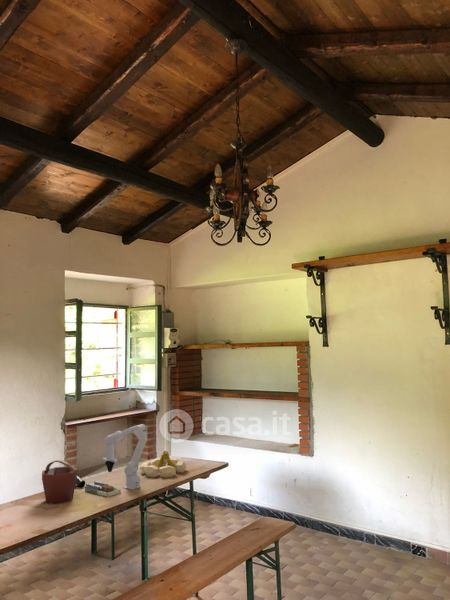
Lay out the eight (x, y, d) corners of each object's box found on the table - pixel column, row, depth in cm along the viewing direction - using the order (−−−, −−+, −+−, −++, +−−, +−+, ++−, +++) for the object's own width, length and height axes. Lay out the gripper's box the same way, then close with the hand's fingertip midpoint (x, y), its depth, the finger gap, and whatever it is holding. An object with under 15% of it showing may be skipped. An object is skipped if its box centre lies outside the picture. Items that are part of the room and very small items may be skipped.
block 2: (110, 491, 318) (113, 492, 315) (105, 493, 314) (109, 494, 312) (110, 485, 318) (113, 486, 316) (105, 487, 315) (109, 488, 312)
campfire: (166, 480, 344) (165, 457, 346) (132, 475, 362) (131, 452, 363) (193, 469, 374) (193, 447, 376) (160, 465, 391) (160, 444, 393)
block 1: (109, 491, 317) (109, 485, 318) (105, 493, 314) (104, 487, 315) (106, 490, 320) (106, 484, 320) (101, 492, 317) (101, 486, 317)
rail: (109, 490, 323) (109, 483, 323) (97, 494, 315) (97, 487, 316) (96, 487, 331) (96, 480, 332) (84, 490, 323) (84, 484, 324)
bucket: (83, 499, 304) (83, 460, 307) (50, 508, 288) (50, 467, 291) (65, 492, 321) (65, 455, 324) (33, 500, 305) (34, 461, 308)
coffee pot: (79, 483, 341) (86, 487, 336) (58, 493, 326) (65, 497, 321) (79, 473, 340) (86, 477, 335) (57, 483, 326) (65, 486, 321)
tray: (120, 492, 317) (120, 488, 317) (107, 497, 308) (107, 493, 308) (109, 490, 323) (109, 486, 324) (96, 494, 315) (96, 490, 315)
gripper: (99, 452, 337) (99, 471, 336) (112, 454, 328) (112, 474, 327) (106, 450, 343) (106, 469, 341) (119, 452, 334) (119, 472, 332)
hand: (109, 471), depth 334 cm, fingers closed
